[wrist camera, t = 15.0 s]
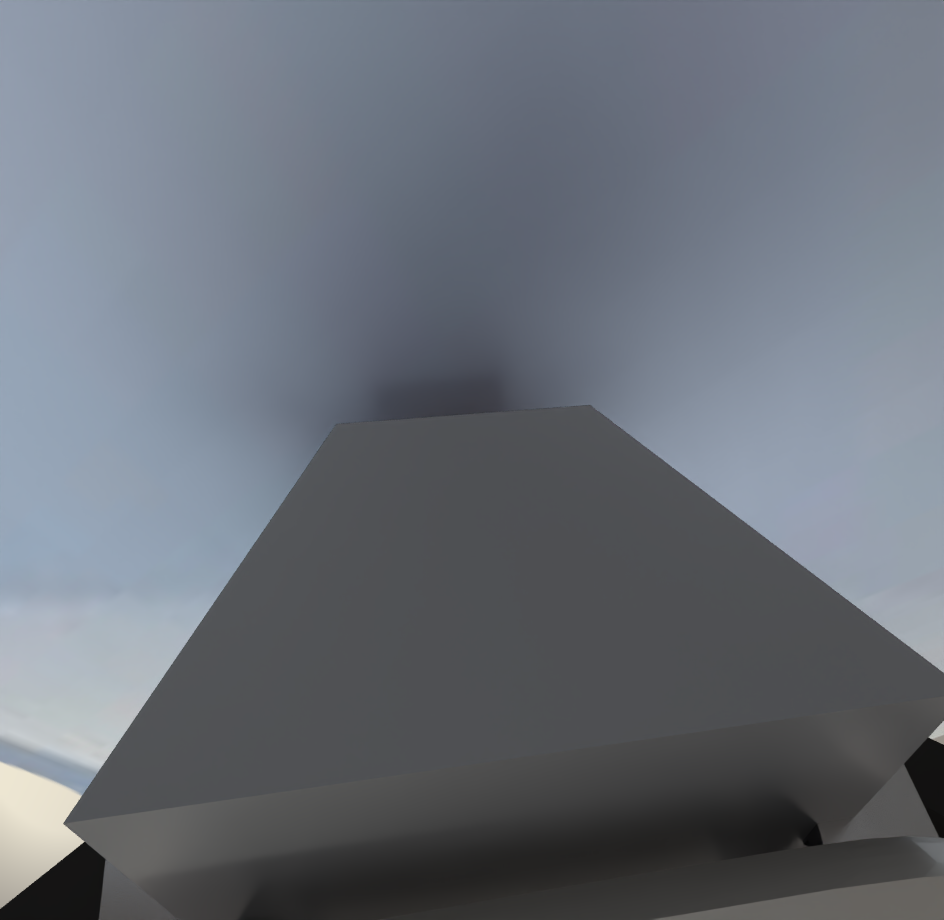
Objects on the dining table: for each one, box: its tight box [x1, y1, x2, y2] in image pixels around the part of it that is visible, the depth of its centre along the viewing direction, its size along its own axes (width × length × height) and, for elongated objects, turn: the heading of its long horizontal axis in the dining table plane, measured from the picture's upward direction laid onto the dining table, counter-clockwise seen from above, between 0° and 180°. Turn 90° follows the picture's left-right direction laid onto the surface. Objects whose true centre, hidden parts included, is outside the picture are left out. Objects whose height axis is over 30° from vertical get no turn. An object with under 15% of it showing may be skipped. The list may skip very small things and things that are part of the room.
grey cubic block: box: [64, 405, 944, 920], centre depth 9 cm, size 8×8×9 cm
